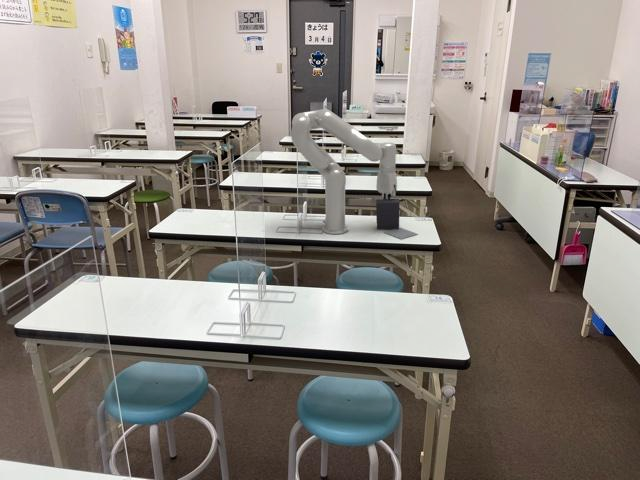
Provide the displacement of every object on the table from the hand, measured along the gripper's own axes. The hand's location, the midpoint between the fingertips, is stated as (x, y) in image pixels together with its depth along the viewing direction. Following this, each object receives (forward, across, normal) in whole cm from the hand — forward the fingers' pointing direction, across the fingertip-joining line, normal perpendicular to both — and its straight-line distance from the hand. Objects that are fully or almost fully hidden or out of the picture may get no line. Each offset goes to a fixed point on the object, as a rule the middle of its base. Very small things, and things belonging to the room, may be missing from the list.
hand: (386, 205), depth 234 cm
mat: (+11, +11, -1) cm, 16 cm away
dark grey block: (+11, +2, 0) cm, 11 cm away
